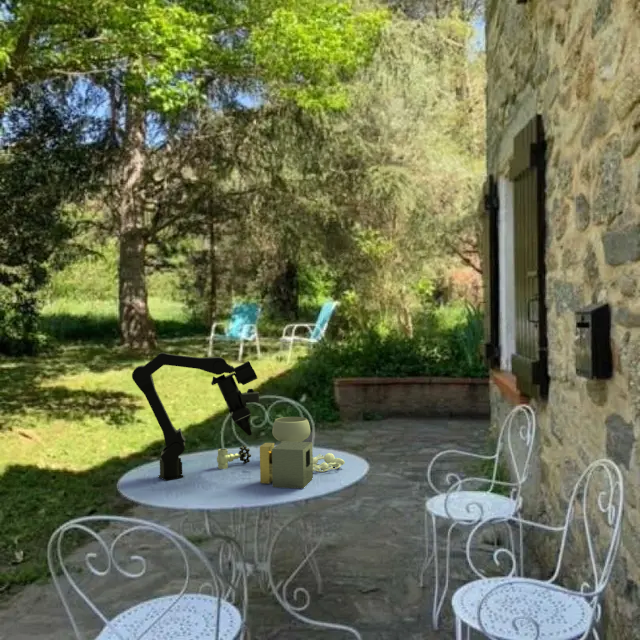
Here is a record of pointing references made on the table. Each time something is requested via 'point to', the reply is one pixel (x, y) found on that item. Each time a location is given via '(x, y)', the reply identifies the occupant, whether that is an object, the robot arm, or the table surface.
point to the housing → (292, 464)
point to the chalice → (291, 429)
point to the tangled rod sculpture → (328, 459)
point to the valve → (232, 457)
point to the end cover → (266, 462)
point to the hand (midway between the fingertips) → (249, 432)
